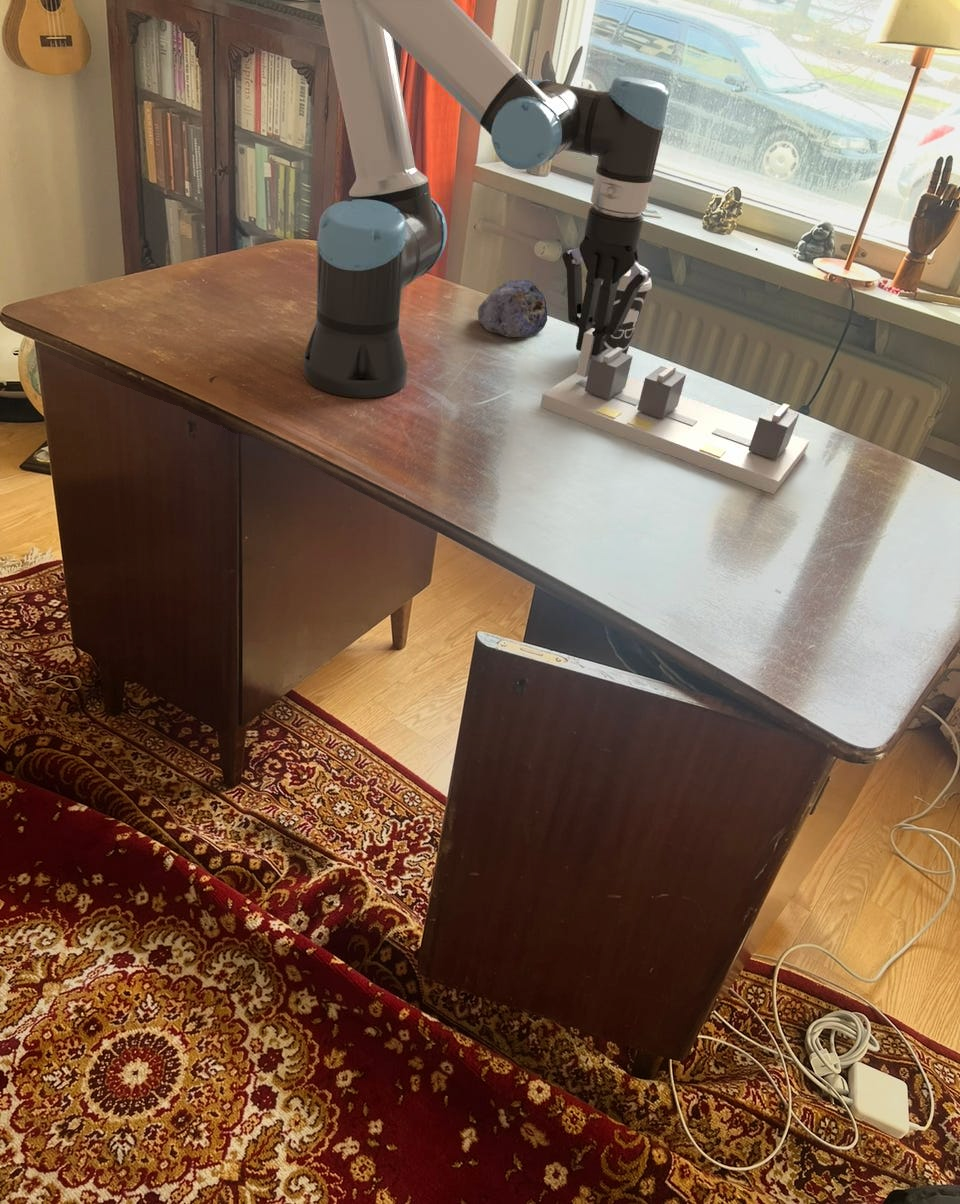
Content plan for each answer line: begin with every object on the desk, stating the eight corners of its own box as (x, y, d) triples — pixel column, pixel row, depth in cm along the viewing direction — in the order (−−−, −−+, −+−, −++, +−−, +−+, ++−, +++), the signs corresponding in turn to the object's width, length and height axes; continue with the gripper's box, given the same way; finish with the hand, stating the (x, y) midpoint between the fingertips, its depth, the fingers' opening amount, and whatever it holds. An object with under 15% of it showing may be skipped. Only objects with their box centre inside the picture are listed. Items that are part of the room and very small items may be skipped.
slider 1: (584, 390, 137) (592, 353, 133) (601, 379, 141) (609, 342, 138) (608, 399, 135) (617, 362, 132) (625, 387, 140) (633, 351, 136)
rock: (557, 316, 160) (541, 268, 153) (526, 356, 157) (509, 309, 149) (508, 309, 166) (490, 262, 159) (477, 348, 163) (458, 301, 155)
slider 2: (637, 409, 134) (646, 372, 130) (652, 397, 138) (662, 360, 135) (662, 419, 132) (672, 381, 129) (677, 406, 137) (687, 369, 133)
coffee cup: (638, 355, 157) (659, 267, 148) (626, 375, 150) (648, 283, 141) (584, 342, 159) (602, 253, 150) (570, 360, 152) (588, 268, 143)
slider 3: (748, 450, 128) (761, 412, 124) (761, 435, 132) (773, 398, 129) (775, 460, 127) (789, 421, 123) (787, 445, 131) (801, 407, 127)
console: (540, 406, 136) (542, 392, 135) (587, 375, 148) (589, 362, 146) (773, 494, 124) (779, 480, 122) (805, 452, 135) (810, 439, 134)
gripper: (562, 202, 124) (535, 367, 139) (650, 226, 120) (613, 394, 134) (586, 193, 130) (557, 353, 144) (671, 216, 125) (633, 379, 139)
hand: (584, 373), depth 139 cm, fingers closed
